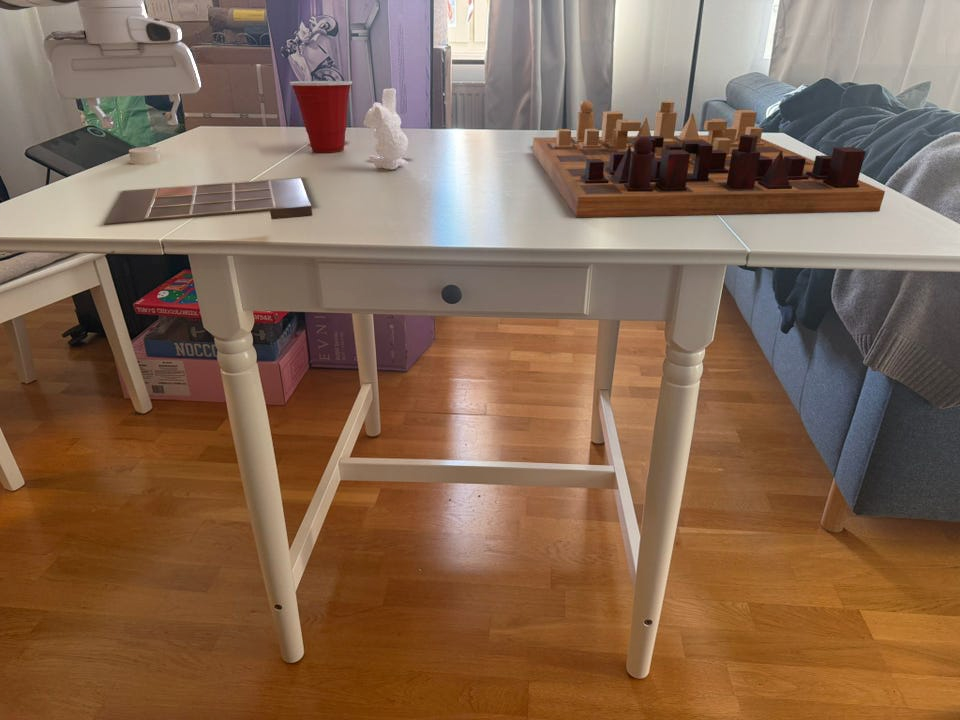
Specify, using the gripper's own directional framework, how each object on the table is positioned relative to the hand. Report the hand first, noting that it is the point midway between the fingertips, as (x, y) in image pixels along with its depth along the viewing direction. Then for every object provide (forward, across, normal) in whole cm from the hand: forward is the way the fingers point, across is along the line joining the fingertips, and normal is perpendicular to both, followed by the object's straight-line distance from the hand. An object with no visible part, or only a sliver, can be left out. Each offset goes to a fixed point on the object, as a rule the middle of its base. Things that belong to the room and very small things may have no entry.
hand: (141, 126), depth 107 cm
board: (+7, +11, -28) cm, 30 cm away
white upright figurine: (+7, +38, -12) cm, 40 cm away
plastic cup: (+7, +29, +6) cm, 31 cm away
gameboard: (+8, +79, -32) cm, 85 cm away
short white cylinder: (+7, -1, 0) cm, 7 cm away
